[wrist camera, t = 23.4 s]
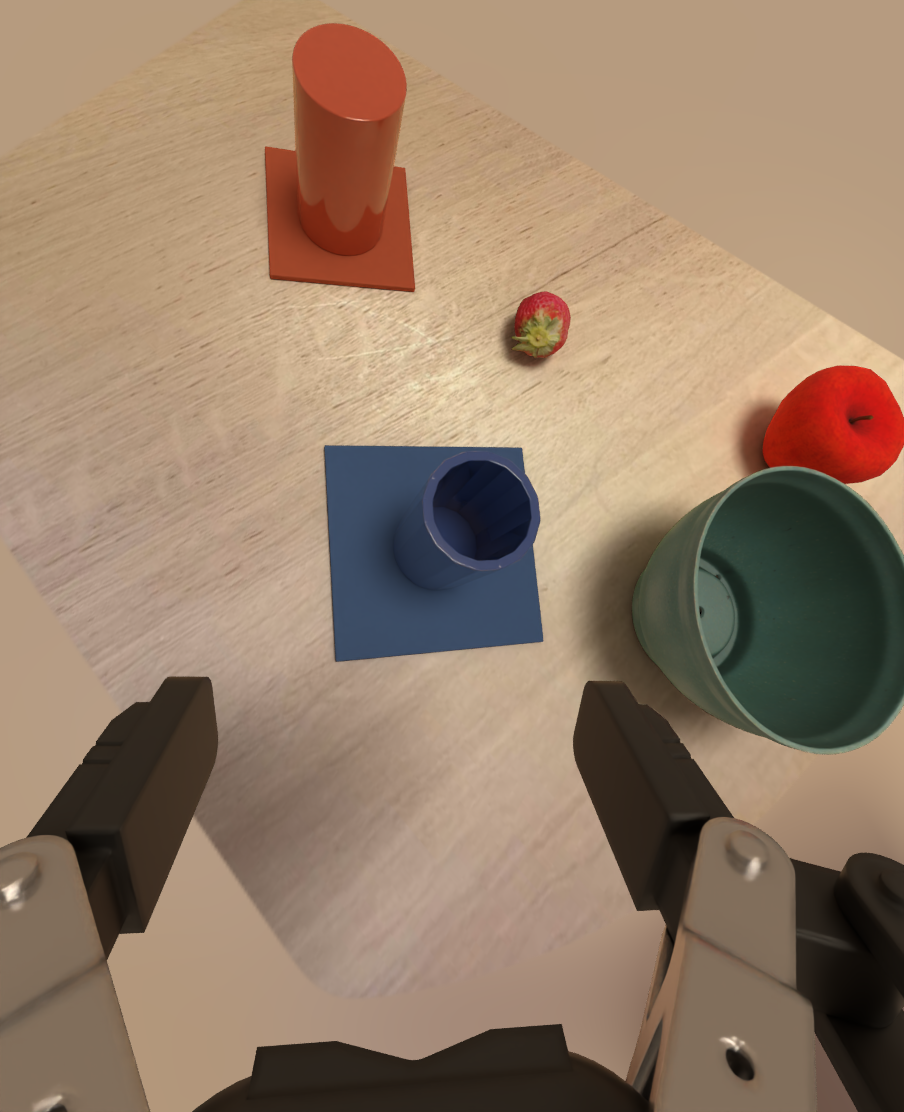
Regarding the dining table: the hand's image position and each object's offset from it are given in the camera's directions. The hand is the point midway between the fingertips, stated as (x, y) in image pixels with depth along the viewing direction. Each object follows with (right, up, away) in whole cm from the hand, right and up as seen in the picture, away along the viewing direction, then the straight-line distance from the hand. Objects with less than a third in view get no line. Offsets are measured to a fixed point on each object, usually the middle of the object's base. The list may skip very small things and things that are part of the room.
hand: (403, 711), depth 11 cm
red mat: (-7, +27, +26) cm, 39 cm away
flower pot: (+19, -1, +28) cm, 34 cm away
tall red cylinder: (-7, +27, +26) cm, 38 cm away
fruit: (+7, +20, +29) cm, 36 cm away
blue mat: (0, +4, +24) cm, 24 cm away
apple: (+29, +12, +33) cm, 46 cm away
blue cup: (0, +4, +24) cm, 24 cm away
